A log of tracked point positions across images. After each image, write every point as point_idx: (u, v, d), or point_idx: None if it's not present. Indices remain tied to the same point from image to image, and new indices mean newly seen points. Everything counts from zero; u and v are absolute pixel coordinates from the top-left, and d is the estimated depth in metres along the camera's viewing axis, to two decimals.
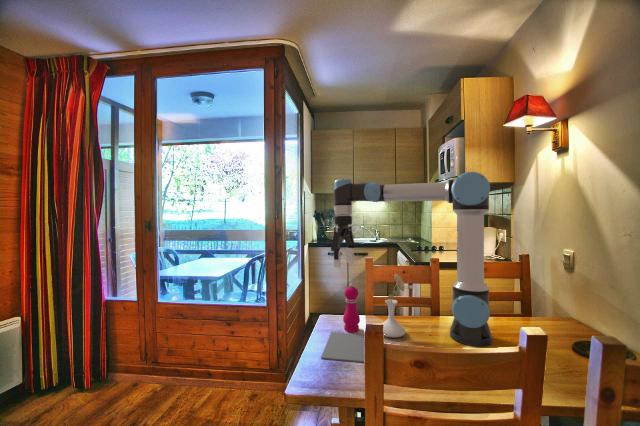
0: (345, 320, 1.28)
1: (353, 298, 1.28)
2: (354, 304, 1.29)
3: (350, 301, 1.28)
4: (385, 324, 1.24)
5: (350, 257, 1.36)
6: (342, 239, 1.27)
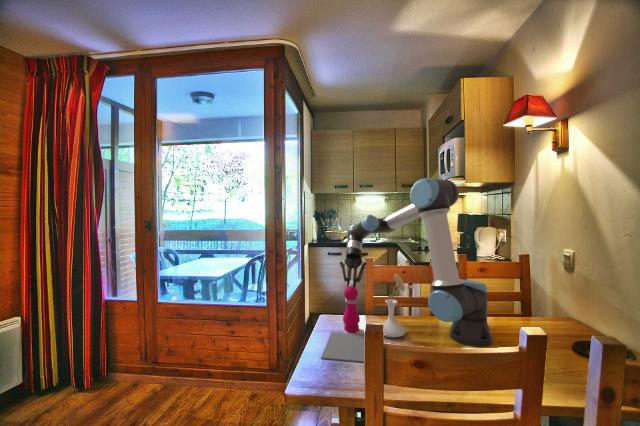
0: (345, 320, 1.28)
1: (353, 299, 1.27)
2: (354, 304, 1.28)
3: (350, 302, 1.27)
4: (385, 324, 1.24)
5: None
6: (350, 268, 1.42)
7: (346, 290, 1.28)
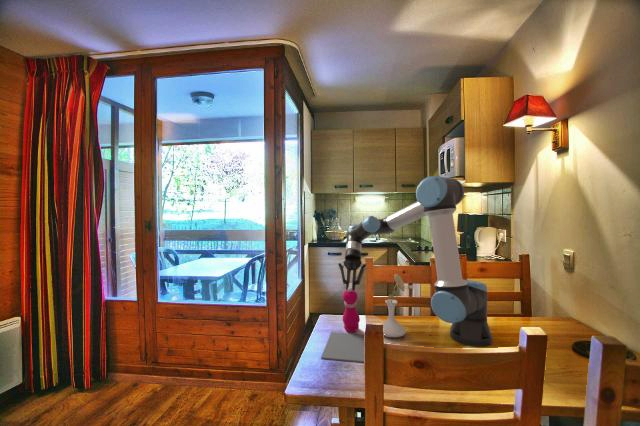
0: (345, 322, 1.27)
1: (352, 303, 1.23)
2: (353, 307, 1.25)
3: (349, 306, 1.24)
4: (385, 324, 1.24)
5: None
6: (349, 270, 1.37)
7: (345, 295, 1.23)
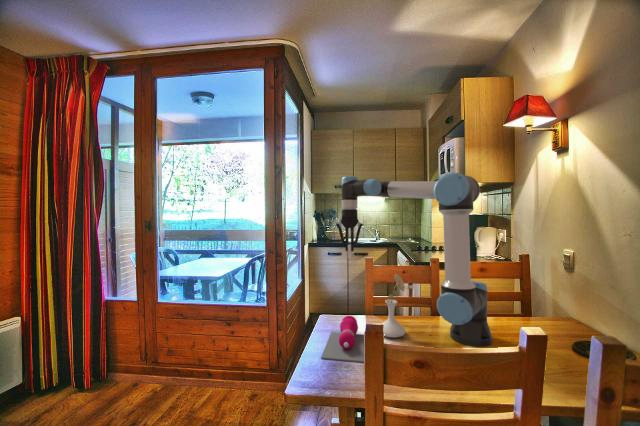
0: None
1: None
2: None
3: None
4: (385, 324, 1.24)
5: None
6: (347, 231, 1.44)
7: (342, 347, 1.10)
